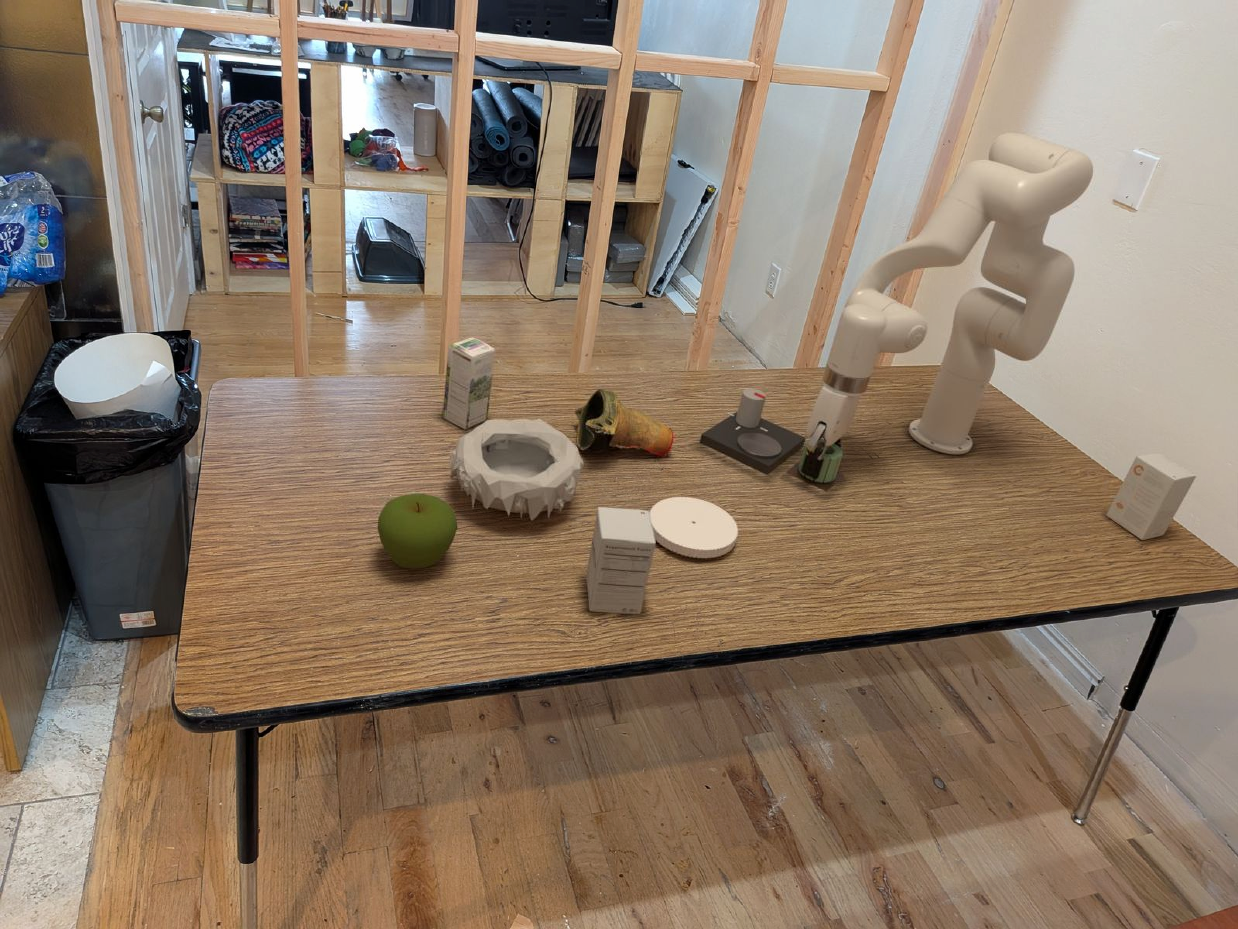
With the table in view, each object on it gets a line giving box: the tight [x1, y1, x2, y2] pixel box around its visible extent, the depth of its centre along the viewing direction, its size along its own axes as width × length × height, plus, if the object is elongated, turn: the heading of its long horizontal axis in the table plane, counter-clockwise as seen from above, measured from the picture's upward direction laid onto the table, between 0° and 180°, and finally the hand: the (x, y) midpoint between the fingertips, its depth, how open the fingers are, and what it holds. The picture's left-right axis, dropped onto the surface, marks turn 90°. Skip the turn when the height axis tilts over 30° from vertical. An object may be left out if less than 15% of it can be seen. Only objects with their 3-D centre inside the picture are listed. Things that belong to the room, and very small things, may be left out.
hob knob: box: [736, 388, 767, 428], centre depth 171 cm, size 4×4×6 cm
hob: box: [699, 410, 807, 476], centre depth 169 cm, size 15×15×3 cm
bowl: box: [449, 418, 585, 521], centre depth 142 cm, size 21×20×10 cm
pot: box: [573, 388, 675, 459], centre depth 160 cm, size 17×11×18 cm
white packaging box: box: [585, 506, 657, 615], centre depth 125 cm, size 7×7×13 cm
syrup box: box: [442, 337, 496, 431], centre depth 159 cm, size 6×6×14 cm
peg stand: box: [785, 444, 845, 493], centre depth 163 cm, size 8×8×7 cm
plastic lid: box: [649, 496, 739, 559], centre depth 143 cm, size 14×14×2 cm
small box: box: [1105, 452, 1197, 541], centre depth 165 cm, size 8×6×13 cm
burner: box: [737, 433, 781, 459], centre depth 165 cm, size 8×8×1 cm
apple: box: [377, 493, 458, 570], centre depth 125 cm, size 11×10×10 cm
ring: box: [798, 438, 844, 483], centre depth 163 cm, size 7×7×5 cm
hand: (818, 467), depth 163 cm, fingers closed on ring, 6 cm apart
